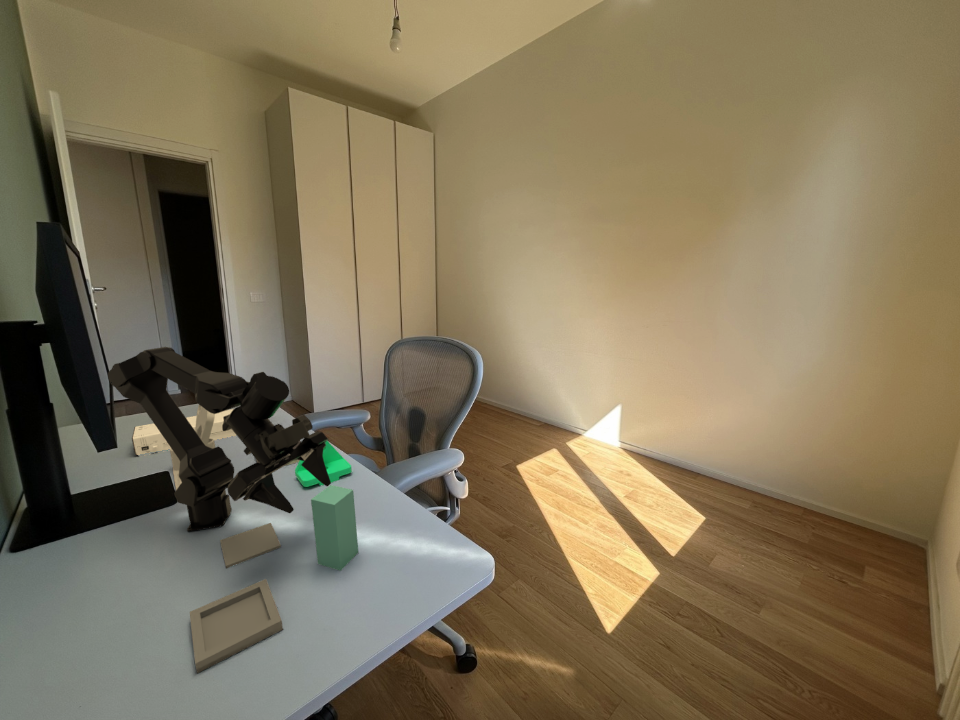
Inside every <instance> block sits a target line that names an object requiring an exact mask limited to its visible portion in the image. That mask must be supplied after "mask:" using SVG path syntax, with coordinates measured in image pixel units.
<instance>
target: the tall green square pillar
mask: <svg viewBox="0 0 960 720" xmlns="http://www.w3.org/2000/svg"><path fill="white" fill-rule="evenodd" d="M354 492H355V491H354V489H352V488H346V487H342V486H337V485H332V484H330V485H329V486H326V488H325V489H322V491H320V492H319V493H318V494H316V495H314V496H313V497H312V498H311V499H310V502H311V503H310V504H311V511H312V513H311V514H312V521H313V531H314V540H315V541H314V542H315V547H316V557H317V565H320V566H323V567H327V568H330V569H332V570H335V571H336V570H337V571H340V572H341V571H342V570H344V568H345V567H346V566H347V565H348V564H349V563H350V562H351V561H352V560H353V559H354V557H356V555H358V554H359V545H358V544H359V543H358V532H357V519H356V518H357V517H356V507H355V505H356V504H355V494H354Z"/></svg>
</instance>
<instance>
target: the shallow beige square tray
mask: <svg viewBox="0 0 960 720" xmlns="http://www.w3.org/2000/svg"><path fill="white" fill-rule="evenodd" d="M189 619H190V628H191V638H192V648H193V655H194V663H195V670H196V674H199V673H201V672H203V671H205V670H207V669H210V668H211V667H213V666H215V665H217V664H218V663H221V662H222V661H224V660H226V659H228V658H231V657H232V656H234V655H236V654H238V653H240V652H242V651H244V650H246V649H249V647H252V646H254V645H256V644H257V643H259V642H262V641H264V640H265V639H268V638H269V637H271V636H273V635H275V634H277V633H279V632H281V631H283V630H284V629H283V621H282V618H281V614H280V612H279V609H278V607H277V604H276V601H275V599H274V597H273V593H272V591H271V588H270V585H269V583H268V580H267V578H264V579H262V580H260V581H257V582H255V583H253V584H251V585H248V586H246V587H243V588H242V589H239V590H237V591H234V592H232V593H230V594H227V595H225V596H223V597H221V598H219V599H216V600H213V601H212V602H209V603H207V604H204V605H203V606H200V607H198V608H195V609H193V610H191V611H189Z"/></svg>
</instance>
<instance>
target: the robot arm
mask: <svg viewBox="0 0 960 720" xmlns="http://www.w3.org/2000/svg"><path fill="white" fill-rule="evenodd" d="M107 379H108V381H109V383H110V385H111V386H113V387H114V388H115V389H116V390H117V392H119V394H120V395H121V396H122V397H123V398H125V399H128V400H130V401H132V402H135V403H138V404H140V405H141V407H142V408H143V410H144V411H145V413H146V414H147V415H148V417H149V418H150V420H151V421H152V424H153V423H154V424H155V426H156V427H157V428H158V430H159V431H160V433H161V434H162V436H163V437H164V438H165V440H166V441H167V443H168V444H169V446H170V447H171V448H172V450H173V451H174V453H175V454H176V456H177V457H178V459H179V460H180V468H179V478H180V480H181V481H182V483H181V484H180V486H179V487H178V488H177V490H176V489H175V491H174V493H173V494H174V497H175V498H176V501H177V503H178V504H181V505H186V508H187V514H188V519H189V525H188V526H187V528H186V531H187V532H194V531H200V530H207V529H213V528H214V529H215V528H219V527H223V526H224V525H225V523H226V521H227V519H228V518H229V517H230V515H231V513H232V510H233V509H232V507H231V506H232V505H231V504H232V503H231V500H230V498H231V499H232V501H233V502H236V501H238V500H240V499H241V498H242V500H243V501H244V502H247V501H248V500H252V501H255V502H258V503H262V504H265V505H268V506H269V507H272V508H275V509H277V510H280V511H283V512H285V513H287V514H291V513H292V512H294V510H295V509H294V507H293V506H292V503H291V502H290V501H289V500H288V499H287V497H286V496H285V495H284V494H283V493H282V491H281V490H280V489H279V487H277V485H276V484H275V479H274V476H273V473H275V472H276V471H278V470H280V469H282V468H283V467H286V466H288V465H287V464H289V463H290V462H292V461H294V460H296V459H298V460H301V461H304V462H303V463H302V464H301V465H302V466H303V467H304V468H305V469H306V470H307V471H309V472H310V473H311V474H312V475H313V476H314V477H315V478H317V479H318V480H319V481H320V482H321V483H322V484H324V485H323V486H325V487H329V486H330V485H332V482H331V481H330V479H329V476H328V473H327V470H326V467H325V464H324V460H323V449H324V448H325V447H326V441H328V440H329V438H328V437H327V436H326V434H325V433H324V432H323V431H317V430H316V431H314V432H312V433H309V431H311V430H312V429H313V428H314V427H313V423H312V421H311V420H310V419H309V418H308V417H307V416H306V415H305V414H302V415H299V416H297V417H296V418H293V419H292V420H291V423H292V425H289V426H287V427H284V426H283V425H282V424H280V423H278V424H274V423H273V422H272V421H271V420H270V418H272V417H273V416H274V415H275V414H276V413H277V412H278V411H279V409H280V407H281V406H282V405H283V403H284V402H285V401H286V399H288V397H289V396H290V395H289V394H290V389H289V386H288V384H287V383H286V382H285V381H284V380H281V379H279V378H277V377H275V376H273V375H272V376H271V375H267V374H266V373H265V372H264V371H260V372H257V373H253V375H252V376H251V377H250V381H247V380H246V379H244V377H242V376H239V375H237V374H233V373H229V372H219V371H218V372H217V371H213V370H209V369H208V368H206V367H204V366H202V365H200V364H198V363H196V362H194V361H193V360H190V359H189V358H187V357H185V356H183V355H181V354H179V353H178V352H176V351H175V349H173V348H172V347H170V346H169V347H167V346H161V347H157V348H150V349H144V350H143V351H140V352H139V353H137V354H136V355H134V356H133V357H131V358H129V359H128V358H127V359H125V360H124V361H121V362H117V363H114V364H113V365H112V367H111V369H110V370H109V371H108V373H107ZM168 380H169V381H171V382H173V383H174V384H177V385H178V386H181V387H182V388H184V389H186V390H187V391H190V392H191V393H193V394H194V396H195V397H194V398H195V402H196V403H197V404H198V406H199V405H201V406H202V407H203V408H204V409H206V410H207V411H208V412H210V413H212V414H217V413H220V412H223V411H226V410H231V409H234V410H233V411H232V412H231V413H230V414H229V415H227V416H224V417H223V419H224V422H223V425H222V430H223V431H227V430H230V429H232V430H233V431H234V433H235V434H236V435H237V436H236V437H237V438H238V439H239V440H240V441H241V443H242V444H243V445H244V446H245V448H244V450H243V452H244V454H245V455H246V456H249V455H250V454H252V456H253V457H254V459H255V460H256V459H257V460H258V462H259V463H257V460H256V462H254V463H253V464H250V465H249V466H247V467H245V468H243V469H241V470H239V471H238V472H237V473H236V475H235V467H234V465H233V463H232V460H231V459H230V458H229V457H228V456H227V455H226V453H225V451H224V449H223V448H222V447H220V446H215V448H210V447H208V446H206V445H205V444H204V443H203V441H202V440H201V439H200V437H199V436H198V434H197V433H196V431H195V430H194V429H193V427H192V426H191V424H190V423H189V421H188V420H187V419H186V418H187V417H186V416H185V415H184V413H183V411H182V410H181V409H180V408H179V406H178V404H177V403H176V401H175V400H174V399H173V397H172V396H171V394H170V393H169V392H168ZM111 382H112V383H111ZM299 440H300V441H301V443H300V444H299V445H298V446H297V447H296V448H295V449H293V447H294V446H296V445H297V444H298V443H299V442H298V441H299ZM288 457H289V458H288ZM287 458H288V459H287ZM285 459H286V460H285ZM278 463H279V464H278ZM276 464H277V465H276ZM274 465H275V466H274ZM285 465H286V466H285ZM226 489H227V490H226ZM226 491H227V492H226Z"/></svg>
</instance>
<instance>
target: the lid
mask: <svg viewBox="0 0 960 720" xmlns="http://www.w3.org/2000/svg"><path fill="white" fill-rule="evenodd" d="M219 541H220V542H219V543H220V547H221V550H222V556H223V560H224V565H225V569H229V568H232V567H234V566H236V564H237V565H239V564H241V563H244V562H246V561H250V560H252V559H254V558H257V557H260V556H262V555H264V554H267V553H270V552H272V551H275V550H278V549H280V548H282V545H281V542H280V540H279V537H278V535H277V533H276V531H275V529H274V527H273V524H272V522H269V523H266V524H264V525H263V524H262V525H260V526H257V527H254V528H252V529H249V530H246V531H243V532H240V533H238V534H234V535H230V536H228V537H225V538H223V539H220V540H219ZM233 565H234V566H233Z"/></svg>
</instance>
